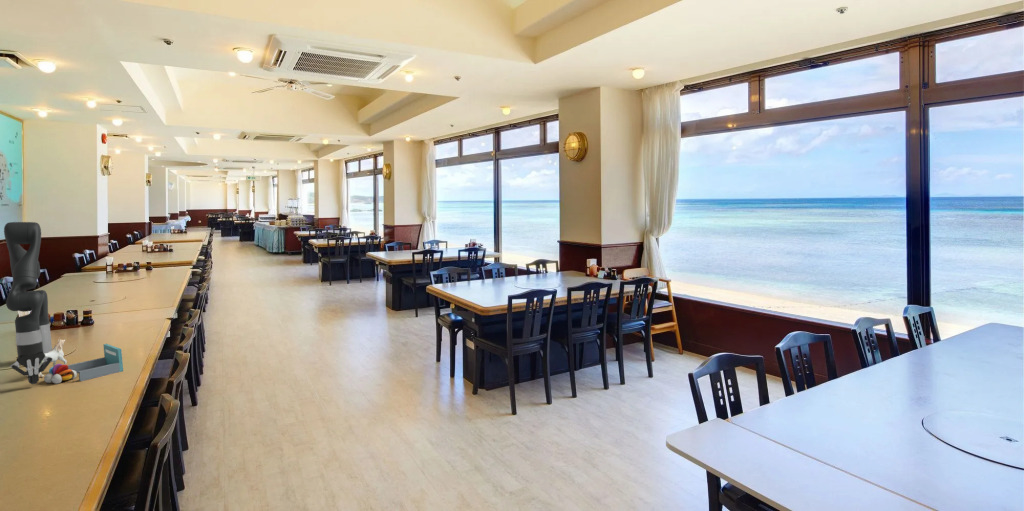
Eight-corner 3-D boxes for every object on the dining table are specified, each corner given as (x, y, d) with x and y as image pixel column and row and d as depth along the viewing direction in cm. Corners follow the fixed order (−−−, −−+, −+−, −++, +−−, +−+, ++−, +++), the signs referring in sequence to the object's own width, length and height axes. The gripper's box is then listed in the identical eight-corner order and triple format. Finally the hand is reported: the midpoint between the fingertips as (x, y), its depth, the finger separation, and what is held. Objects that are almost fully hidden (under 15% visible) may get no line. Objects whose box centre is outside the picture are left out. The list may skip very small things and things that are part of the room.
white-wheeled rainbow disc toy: (59, 385, 210) (57, 368, 209) (40, 383, 212) (38, 366, 211) (80, 378, 218) (79, 361, 217) (62, 376, 220) (60, 360, 219)
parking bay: (66, 374, 222) (64, 352, 221) (108, 364, 235) (106, 343, 234) (80, 381, 214) (78, 358, 213) (123, 371, 227) (121, 349, 226)
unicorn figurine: (78, 365, 235) (75, 336, 233) (43, 380, 216) (39, 349, 214) (62, 365, 234) (59, 337, 233) (24, 380, 215) (21, 349, 214)
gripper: (47, 336, 213) (51, 377, 215) (3, 344, 202) (8, 386, 204) (54, 339, 209) (58, 380, 211) (9, 347, 198) (14, 390, 200)
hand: (33, 383), depth 208 cm, fingers closed
